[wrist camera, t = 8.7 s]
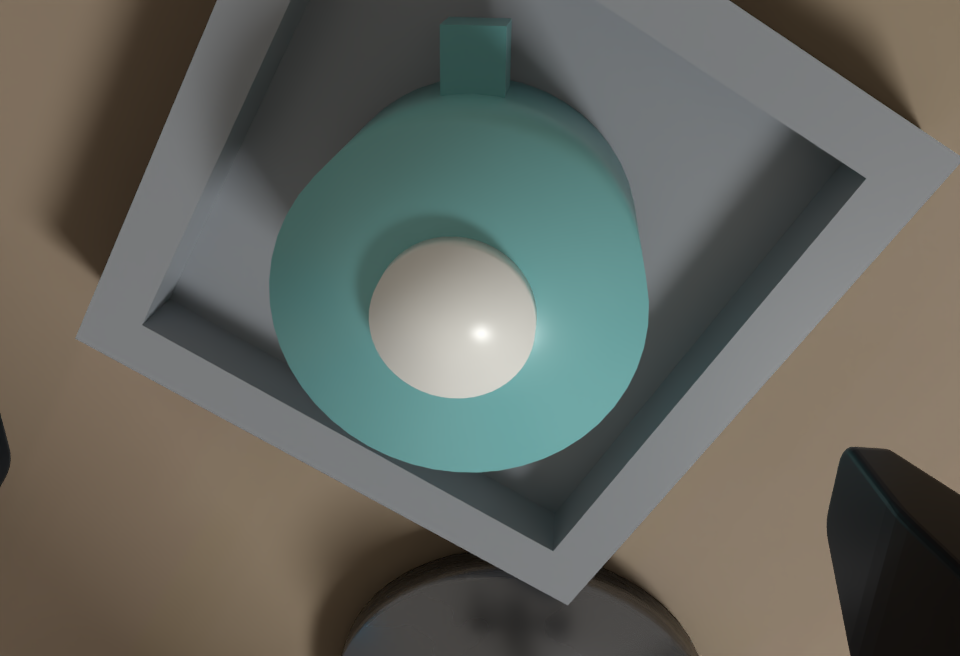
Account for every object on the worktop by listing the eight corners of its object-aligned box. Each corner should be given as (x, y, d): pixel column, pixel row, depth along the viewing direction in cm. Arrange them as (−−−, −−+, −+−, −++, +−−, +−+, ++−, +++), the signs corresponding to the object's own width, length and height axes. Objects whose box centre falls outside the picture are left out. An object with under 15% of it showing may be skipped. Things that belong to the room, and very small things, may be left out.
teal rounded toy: (623, 378, 17) (632, 500, 14) (339, 360, 18) (278, 474, 14) (656, 18, 14) (679, 56, 11) (316, 9, 15) (231, 42, 11)
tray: (923, 131, 15) (964, 158, 13) (569, 547, 20) (567, 605, 18) (360, -248, 14) (330, -269, 12) (120, 299, 18) (75, 338, 17)
